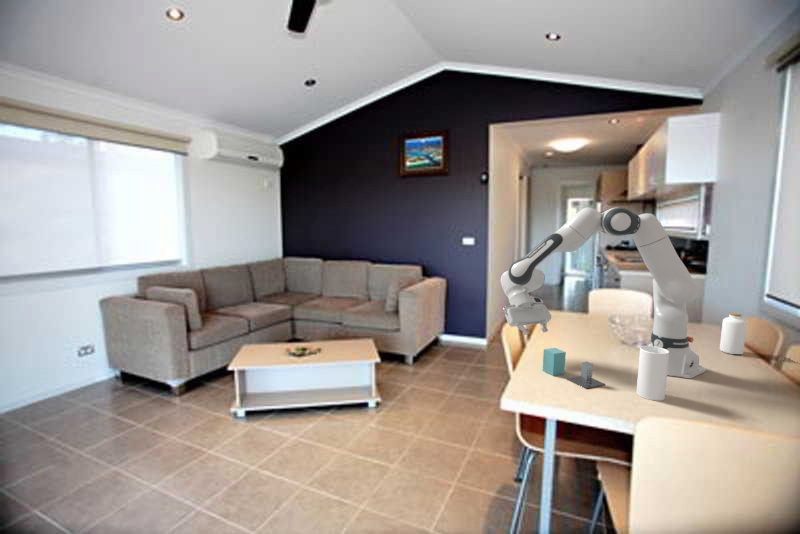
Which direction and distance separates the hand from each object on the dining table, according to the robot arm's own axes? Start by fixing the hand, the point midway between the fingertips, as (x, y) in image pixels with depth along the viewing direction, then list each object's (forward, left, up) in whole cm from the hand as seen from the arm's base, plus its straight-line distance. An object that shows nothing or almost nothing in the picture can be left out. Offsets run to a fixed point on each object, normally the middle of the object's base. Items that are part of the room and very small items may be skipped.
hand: (536, 332), depth 166 cm
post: (-4, +22, -13) cm, 26 cm away
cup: (-16, +38, -13) cm, 44 cm away
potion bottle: (-93, +20, -13) cm, 96 cm away
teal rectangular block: (0, +10, -13) cm, 17 cm away
